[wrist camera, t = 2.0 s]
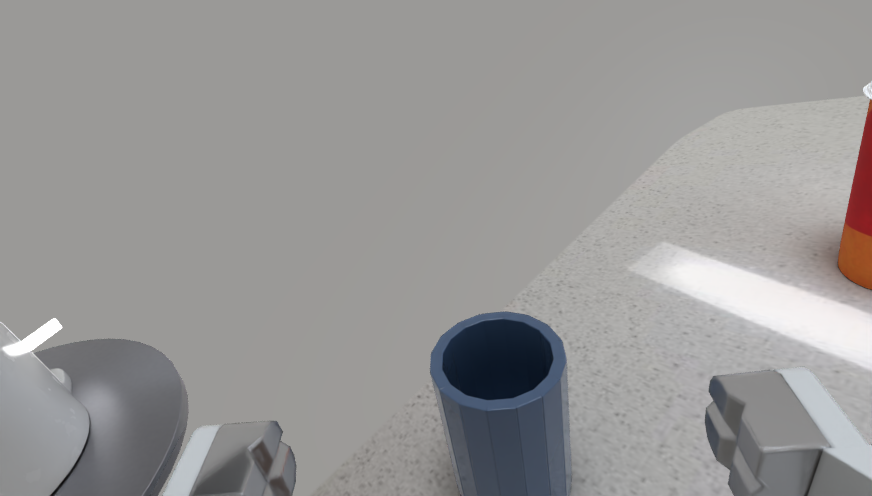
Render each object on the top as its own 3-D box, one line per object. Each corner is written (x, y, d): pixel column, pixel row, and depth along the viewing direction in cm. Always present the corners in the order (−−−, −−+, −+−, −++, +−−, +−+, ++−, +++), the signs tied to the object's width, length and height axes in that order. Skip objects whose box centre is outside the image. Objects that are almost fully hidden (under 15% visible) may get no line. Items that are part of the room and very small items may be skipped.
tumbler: (459, 538, 29) (427, 415, 23) (458, 437, 34) (432, 318, 29) (581, 531, 28) (577, 403, 23) (561, 429, 33) (554, 305, 28)
